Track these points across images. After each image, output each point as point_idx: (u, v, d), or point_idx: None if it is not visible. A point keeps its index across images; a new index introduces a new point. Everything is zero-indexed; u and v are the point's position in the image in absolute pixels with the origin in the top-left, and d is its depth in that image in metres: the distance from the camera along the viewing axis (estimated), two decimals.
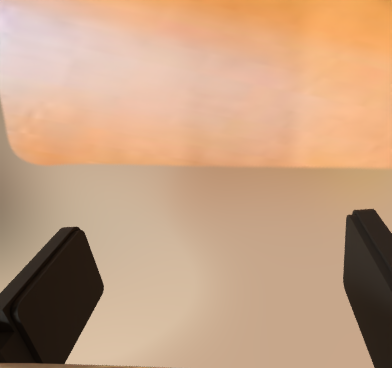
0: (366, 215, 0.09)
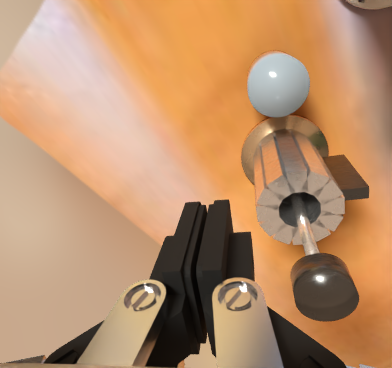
0: (218, 204, 0.11)
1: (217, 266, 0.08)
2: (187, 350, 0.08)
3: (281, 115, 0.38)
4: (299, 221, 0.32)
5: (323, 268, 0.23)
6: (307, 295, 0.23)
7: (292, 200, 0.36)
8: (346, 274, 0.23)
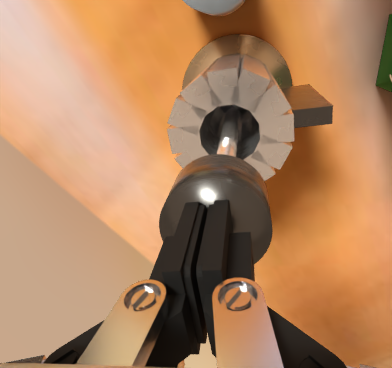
0: (218, 204, 0.11)
1: (217, 265, 0.08)
2: (187, 350, 0.08)
3: (217, 9, 0.27)
4: (220, 140, 0.21)
5: (209, 170, 0.12)
6: None
7: (224, 124, 0.25)
8: (253, 183, 0.12)
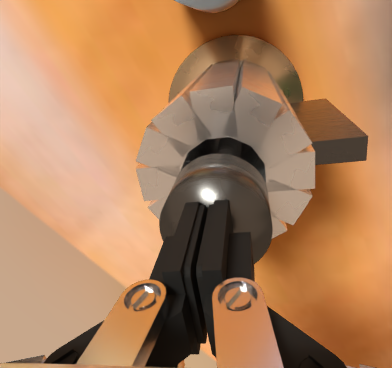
0: (218, 204, 0.11)
1: (217, 266, 0.08)
2: (187, 350, 0.08)
3: (207, 2, 0.20)
4: (221, 140, 0.21)
5: (209, 170, 0.12)
6: None
7: None
8: (254, 182, 0.12)
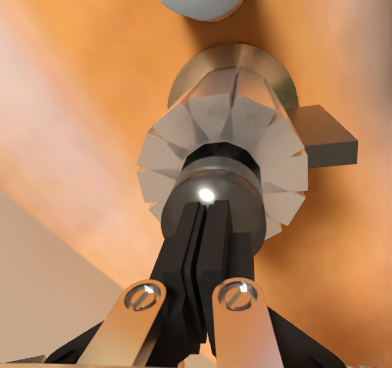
0: (218, 204, 0.11)
1: (217, 265, 0.08)
2: (187, 350, 0.08)
3: (205, 13, 0.21)
4: (218, 144, 0.22)
5: (207, 171, 0.13)
6: None
7: None
8: (249, 183, 0.13)
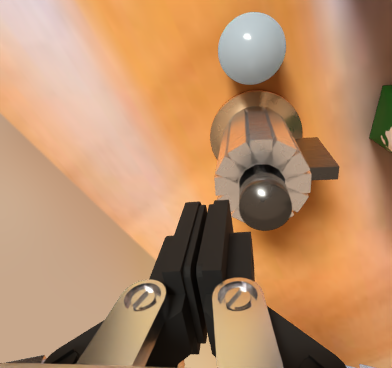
0: (218, 204, 0.11)
1: (217, 266, 0.08)
2: (187, 350, 0.08)
3: (253, 82, 0.34)
4: None
5: (264, 180, 0.26)
6: (249, 203, 0.27)
7: None
8: (284, 187, 0.27)
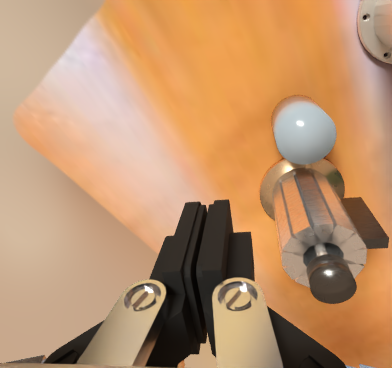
0: (218, 204, 0.11)
1: (217, 266, 0.08)
2: (187, 350, 0.08)
3: (306, 163, 0.40)
4: None
5: (332, 265, 0.32)
6: (319, 284, 0.32)
7: None
8: (348, 269, 0.32)
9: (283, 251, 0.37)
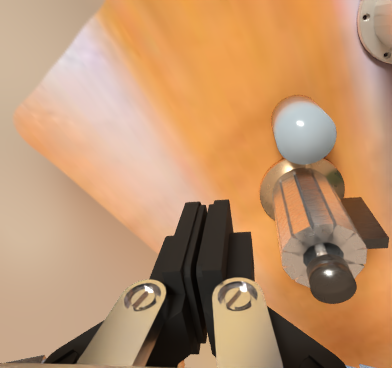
0: (218, 204, 0.11)
1: (217, 265, 0.08)
2: (187, 350, 0.08)
3: (306, 163, 0.40)
4: None
5: (332, 265, 0.32)
6: (319, 284, 0.32)
7: None
8: (348, 269, 0.32)
9: (283, 251, 0.37)
